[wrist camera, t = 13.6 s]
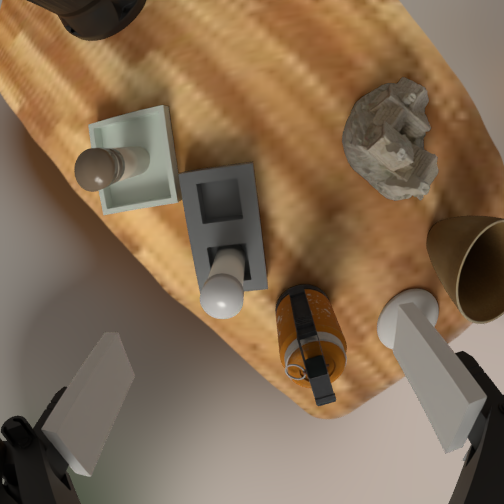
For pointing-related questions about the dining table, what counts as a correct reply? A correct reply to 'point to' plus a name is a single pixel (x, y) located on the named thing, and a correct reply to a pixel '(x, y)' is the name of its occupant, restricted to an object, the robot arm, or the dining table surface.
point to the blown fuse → (109, 166)
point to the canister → (310, 340)
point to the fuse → (225, 283)
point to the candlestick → (390, 312)
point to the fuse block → (224, 219)
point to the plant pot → (470, 264)
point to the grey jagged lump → (391, 140)
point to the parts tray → (160, 151)
